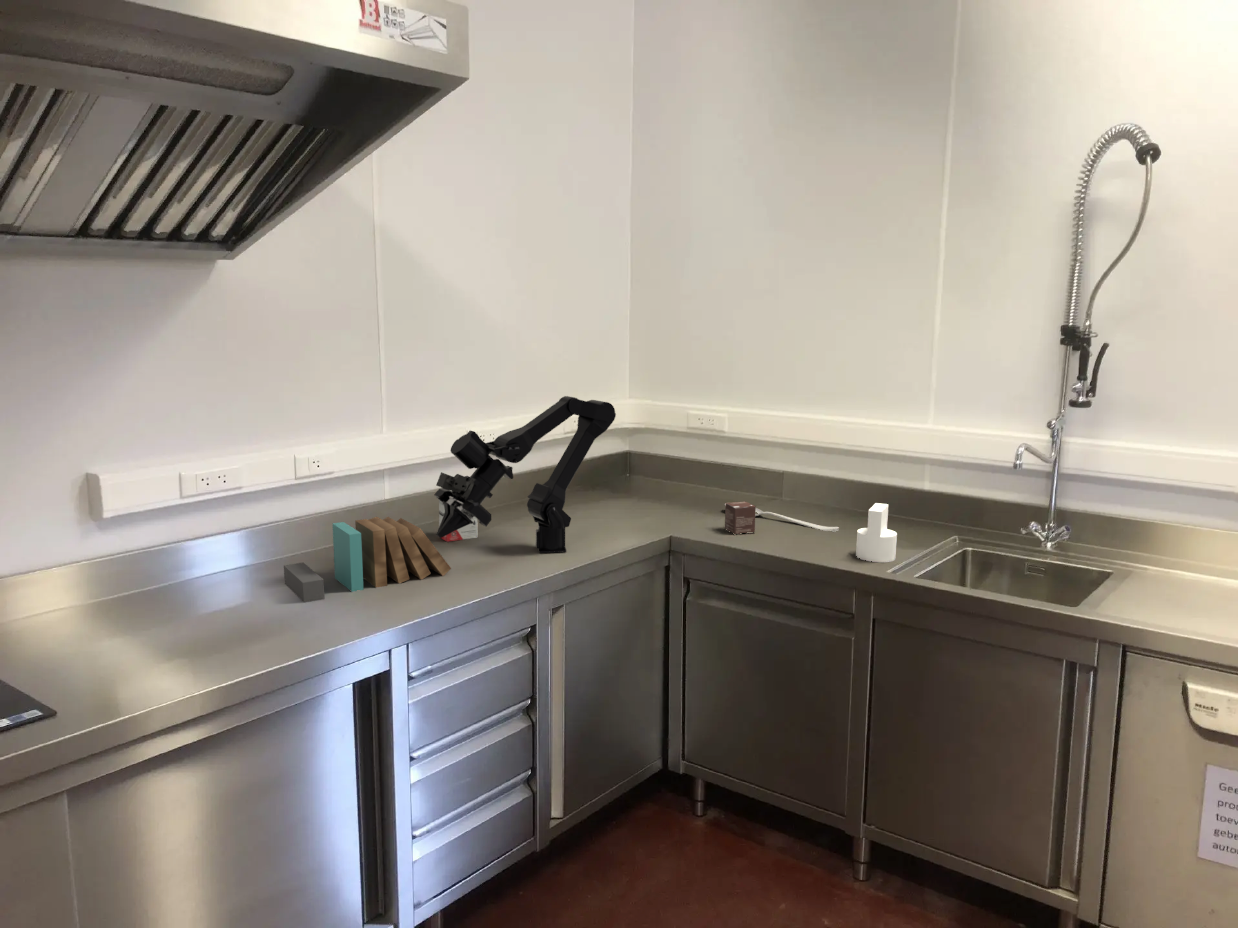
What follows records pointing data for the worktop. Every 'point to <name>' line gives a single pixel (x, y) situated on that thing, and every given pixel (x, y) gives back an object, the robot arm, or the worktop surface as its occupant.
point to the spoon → (798, 521)
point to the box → (740, 517)
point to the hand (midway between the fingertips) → (438, 536)
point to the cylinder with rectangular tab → (876, 537)
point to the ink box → (463, 532)
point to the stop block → (304, 582)
